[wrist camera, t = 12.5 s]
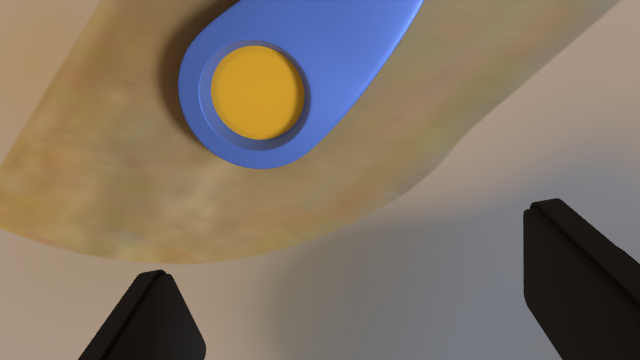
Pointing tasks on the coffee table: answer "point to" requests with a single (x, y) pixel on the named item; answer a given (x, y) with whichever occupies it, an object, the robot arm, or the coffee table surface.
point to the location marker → (284, 73)
